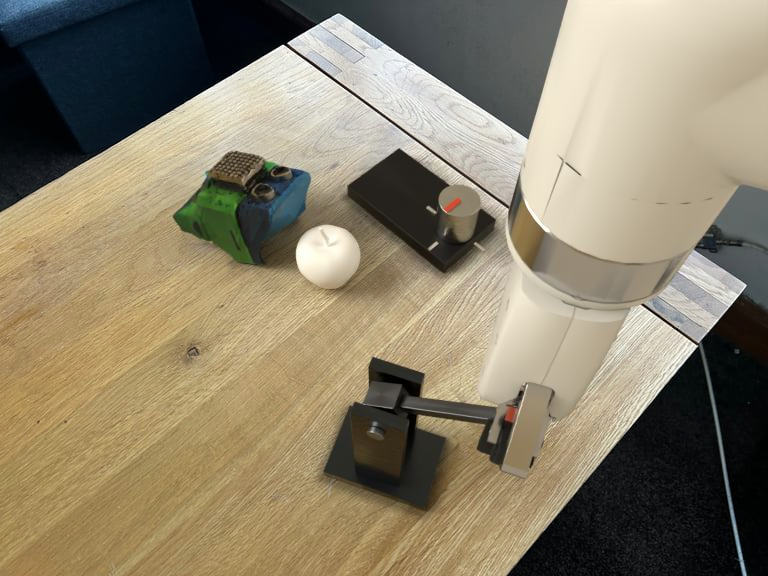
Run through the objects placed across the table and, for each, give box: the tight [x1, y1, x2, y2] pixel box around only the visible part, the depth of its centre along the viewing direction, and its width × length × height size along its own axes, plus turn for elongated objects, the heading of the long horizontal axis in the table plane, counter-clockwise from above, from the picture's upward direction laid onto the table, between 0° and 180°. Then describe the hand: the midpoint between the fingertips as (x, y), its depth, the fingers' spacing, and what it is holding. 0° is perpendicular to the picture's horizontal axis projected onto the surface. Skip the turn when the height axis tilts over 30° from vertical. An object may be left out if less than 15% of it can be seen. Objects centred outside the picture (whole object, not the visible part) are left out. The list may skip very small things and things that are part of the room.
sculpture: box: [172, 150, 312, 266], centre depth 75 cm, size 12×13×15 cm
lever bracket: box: [322, 356, 447, 511], centre depth 57 cm, size 10×7×16 cm
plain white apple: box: [295, 224, 361, 290], centre depth 72 cm, size 7×7×8 cm
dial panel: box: [346, 147, 497, 274], centre depth 79 cm, size 18×9×2 cm, turn 45°
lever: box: [362, 381, 523, 426], centre depth 50 cm, size 12×4×2 cm, turn 71°
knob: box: [435, 184, 482, 244], centre depth 74 cm, size 5×5×5 cm
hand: (521, 384), depth 42 cm, fingers open, 9 cm apart
